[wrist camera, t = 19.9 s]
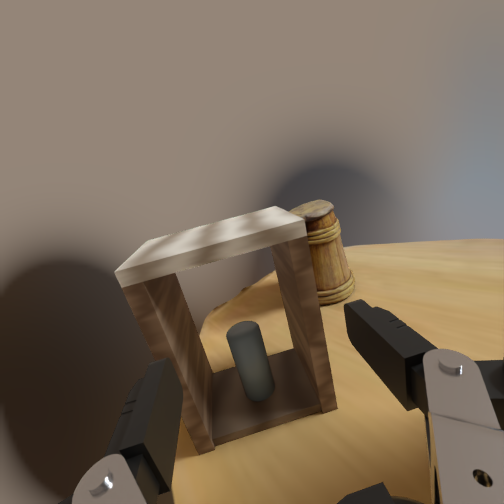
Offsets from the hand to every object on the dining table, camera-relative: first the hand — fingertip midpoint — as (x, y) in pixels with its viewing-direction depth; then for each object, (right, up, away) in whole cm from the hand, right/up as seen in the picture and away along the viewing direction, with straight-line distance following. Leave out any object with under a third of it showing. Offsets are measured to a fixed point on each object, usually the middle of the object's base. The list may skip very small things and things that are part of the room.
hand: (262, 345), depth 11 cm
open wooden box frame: (+1, -21, +33) cm, 39 cm away
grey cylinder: (+1, -20, +32) cm, 38 cm away
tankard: (+19, -8, +59) cm, 63 cm away
